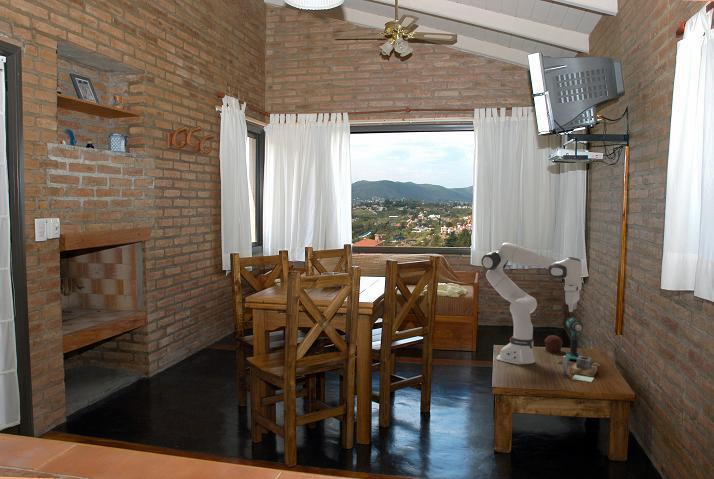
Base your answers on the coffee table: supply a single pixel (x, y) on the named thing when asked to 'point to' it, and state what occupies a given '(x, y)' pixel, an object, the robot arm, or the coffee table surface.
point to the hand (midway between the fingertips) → (572, 310)
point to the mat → (583, 378)
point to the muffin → (553, 344)
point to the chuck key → (565, 365)
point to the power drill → (573, 337)
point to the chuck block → (584, 366)
